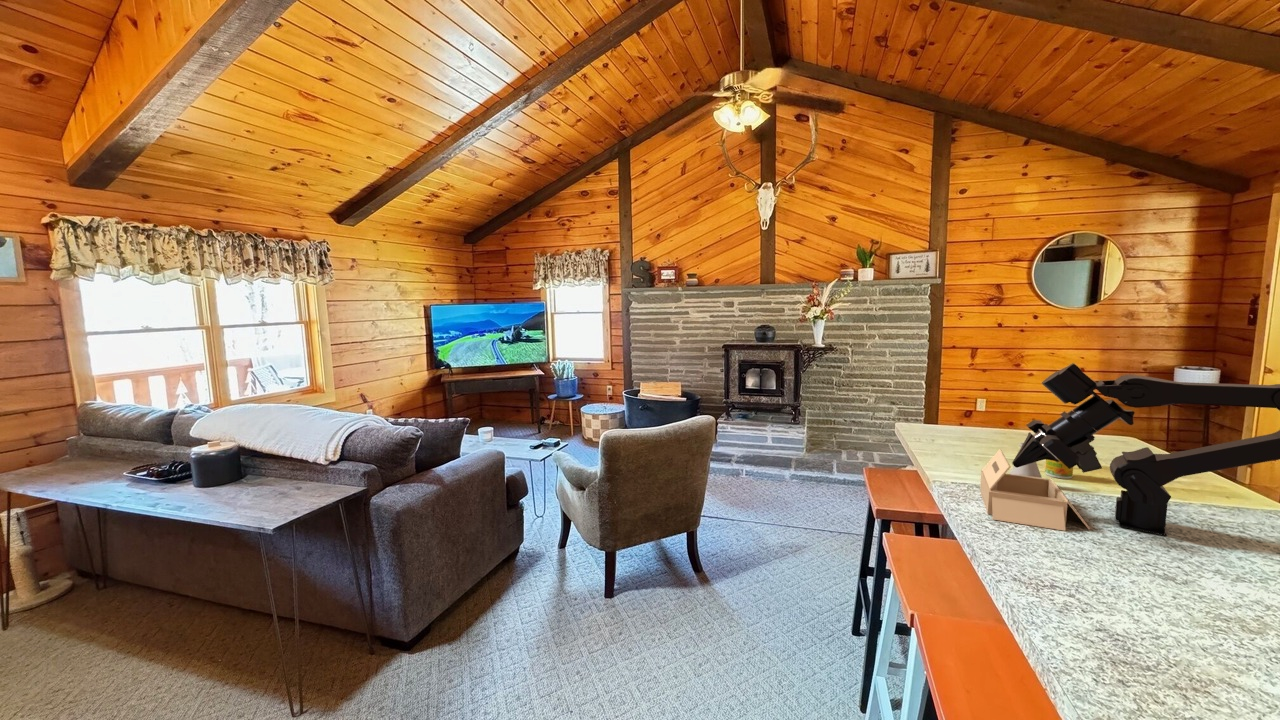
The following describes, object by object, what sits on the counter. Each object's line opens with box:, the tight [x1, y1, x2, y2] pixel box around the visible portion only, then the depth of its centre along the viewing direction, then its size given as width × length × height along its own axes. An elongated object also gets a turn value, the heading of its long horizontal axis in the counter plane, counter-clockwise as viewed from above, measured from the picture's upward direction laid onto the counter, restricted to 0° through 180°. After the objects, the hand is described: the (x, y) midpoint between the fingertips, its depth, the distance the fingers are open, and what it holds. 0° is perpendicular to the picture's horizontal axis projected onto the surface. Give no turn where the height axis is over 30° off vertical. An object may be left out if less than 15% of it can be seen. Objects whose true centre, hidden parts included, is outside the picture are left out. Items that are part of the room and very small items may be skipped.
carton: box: [979, 470, 1091, 532], centre depth 107 cm, size 17×20×5 cm
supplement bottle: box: [1044, 458, 1074, 480], centre depth 126 cm, size 5×5×10 cm
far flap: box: [981, 448, 1011, 489], centre depth 109 cm, size 1×14×6 cm
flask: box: [1008, 442, 1043, 478], centre depth 121 cm, size 7×7×10 cm
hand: (1014, 465), depth 107 cm, fingers closed
